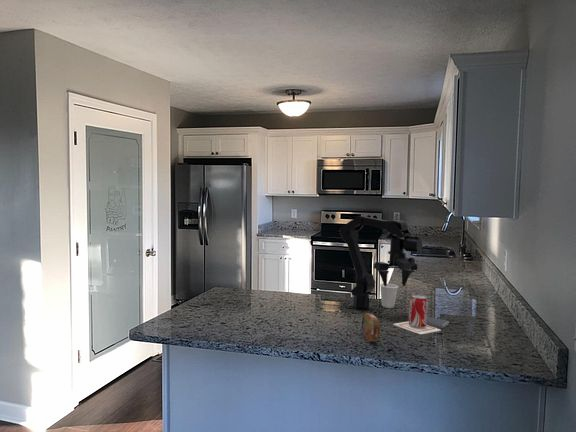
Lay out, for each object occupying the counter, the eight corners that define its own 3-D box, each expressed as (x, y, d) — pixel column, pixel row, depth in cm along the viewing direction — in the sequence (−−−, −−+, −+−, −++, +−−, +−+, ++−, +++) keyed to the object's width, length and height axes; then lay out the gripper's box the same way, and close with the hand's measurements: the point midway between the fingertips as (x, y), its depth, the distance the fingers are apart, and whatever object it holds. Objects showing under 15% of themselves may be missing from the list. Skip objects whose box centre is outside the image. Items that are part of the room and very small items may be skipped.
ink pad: (415, 322, 187) (416, 319, 187) (422, 318, 194) (422, 315, 194) (442, 328, 181) (442, 325, 181) (448, 324, 187) (449, 321, 187)
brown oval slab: (360, 331, 170) (362, 309, 170) (368, 332, 171) (370, 310, 170) (371, 345, 155) (372, 321, 155) (380, 345, 156) (381, 321, 155)
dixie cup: (385, 303, 219) (386, 282, 218) (400, 307, 213) (401, 285, 212) (375, 305, 213) (376, 284, 212) (390, 309, 207) (391, 287, 206)
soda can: (420, 330, 176) (422, 299, 175) (404, 325, 181) (406, 295, 180) (430, 327, 180) (432, 297, 180) (414, 322, 185) (416, 293, 185)
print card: (392, 324, 182) (392, 323, 182) (413, 321, 189) (413, 320, 189) (420, 334, 171) (420, 333, 171) (441, 330, 177) (441, 329, 177)
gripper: (388, 252, 184) (385, 290, 185) (426, 252, 190) (424, 289, 191) (374, 248, 195) (371, 284, 195) (411, 249, 201) (408, 284, 202)
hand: (394, 285), depth 196 cm, fingers open, 9 cm apart
